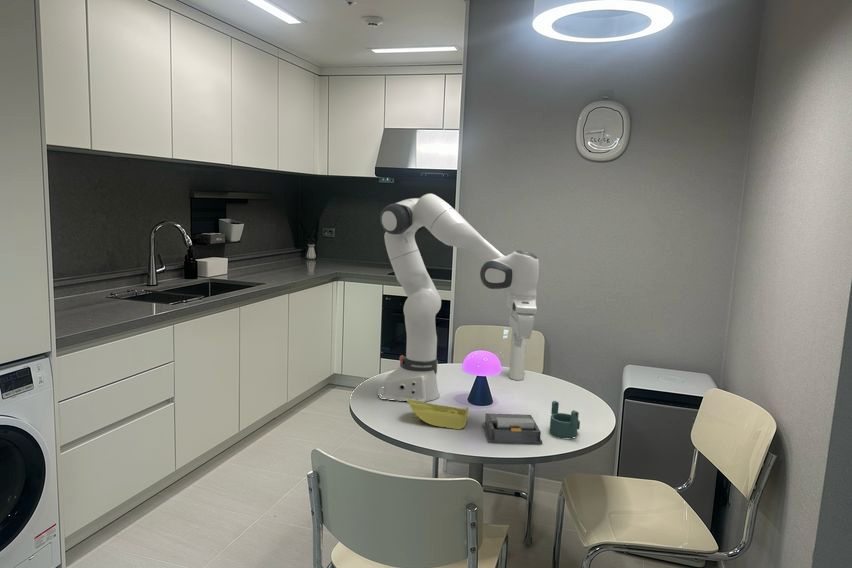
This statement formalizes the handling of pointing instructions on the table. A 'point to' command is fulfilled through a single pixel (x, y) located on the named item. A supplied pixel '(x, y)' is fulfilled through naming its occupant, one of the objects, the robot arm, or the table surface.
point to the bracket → (563, 423)
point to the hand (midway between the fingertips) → (517, 346)
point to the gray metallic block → (514, 423)
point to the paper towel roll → (517, 360)
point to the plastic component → (440, 414)
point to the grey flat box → (510, 431)
